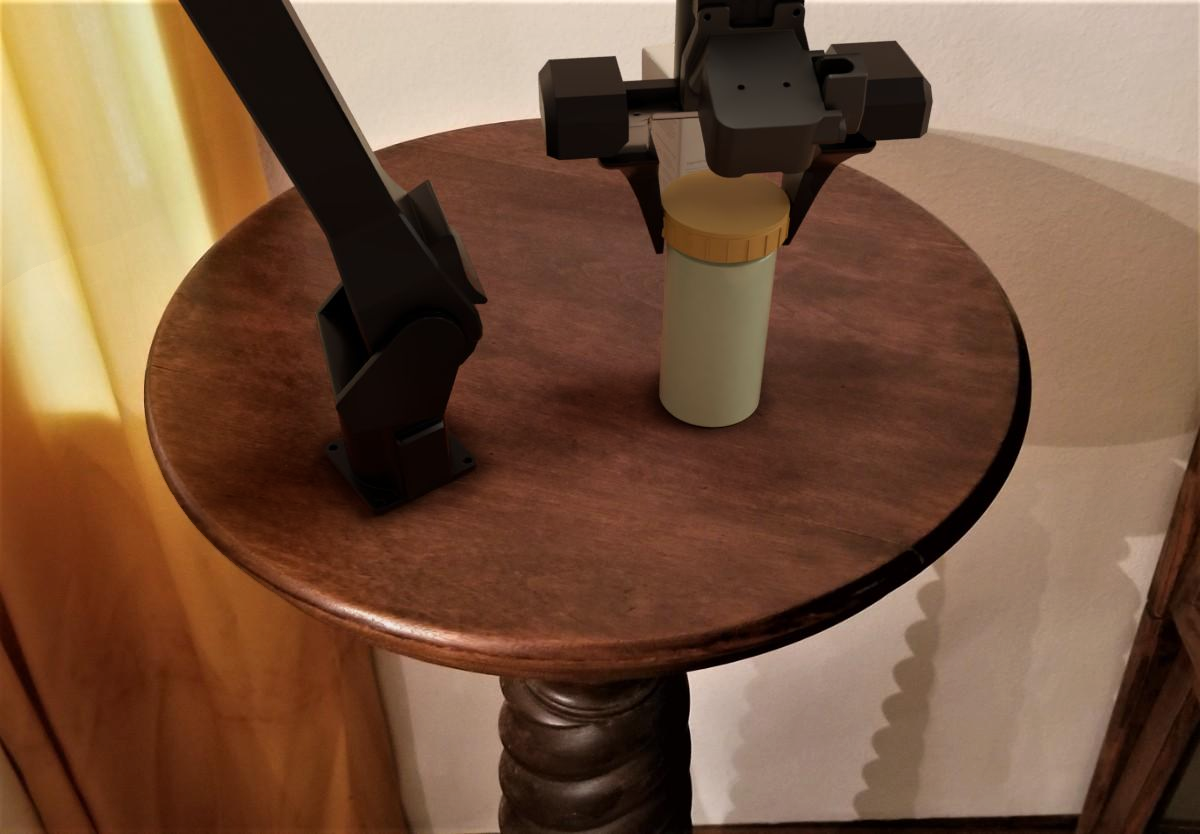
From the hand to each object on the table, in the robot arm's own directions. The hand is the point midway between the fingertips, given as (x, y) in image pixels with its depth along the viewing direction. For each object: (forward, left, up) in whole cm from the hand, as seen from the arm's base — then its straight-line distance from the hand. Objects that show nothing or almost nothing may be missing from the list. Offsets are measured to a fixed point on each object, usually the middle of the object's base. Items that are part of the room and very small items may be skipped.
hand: (720, 246), depth 62 cm
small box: (-19, +14, -11) cm, 26 cm away
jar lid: (0, 0, +3) cm, 3 cm away
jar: (0, 0, -10) cm, 10 cm away
